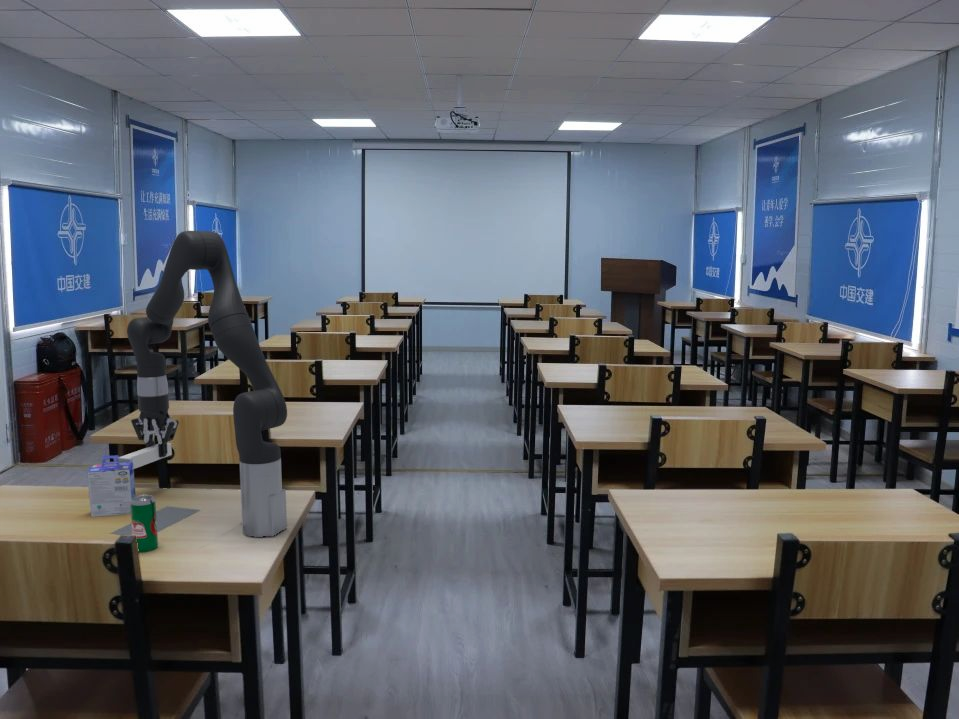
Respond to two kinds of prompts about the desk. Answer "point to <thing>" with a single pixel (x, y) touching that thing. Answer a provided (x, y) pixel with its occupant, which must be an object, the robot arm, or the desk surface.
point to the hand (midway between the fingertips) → (157, 456)
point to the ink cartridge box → (111, 487)
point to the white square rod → (144, 456)
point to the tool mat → (162, 519)
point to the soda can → (144, 522)
